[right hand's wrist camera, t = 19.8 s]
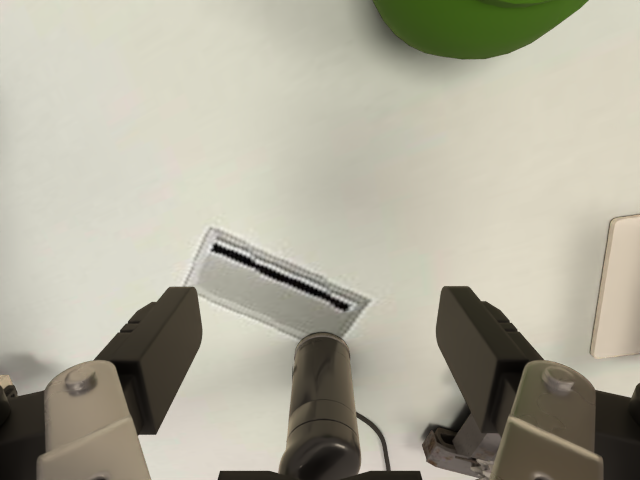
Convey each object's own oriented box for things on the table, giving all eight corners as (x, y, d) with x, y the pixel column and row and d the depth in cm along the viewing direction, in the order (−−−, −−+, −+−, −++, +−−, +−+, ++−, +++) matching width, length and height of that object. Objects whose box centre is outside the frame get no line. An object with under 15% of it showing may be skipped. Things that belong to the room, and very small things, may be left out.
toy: (594, 395, 63) (672, 478, 49) (534, 468, 70) (588, 559, 56) (468, 357, 60) (513, 434, 46) (418, 437, 67) (444, 526, 53)
